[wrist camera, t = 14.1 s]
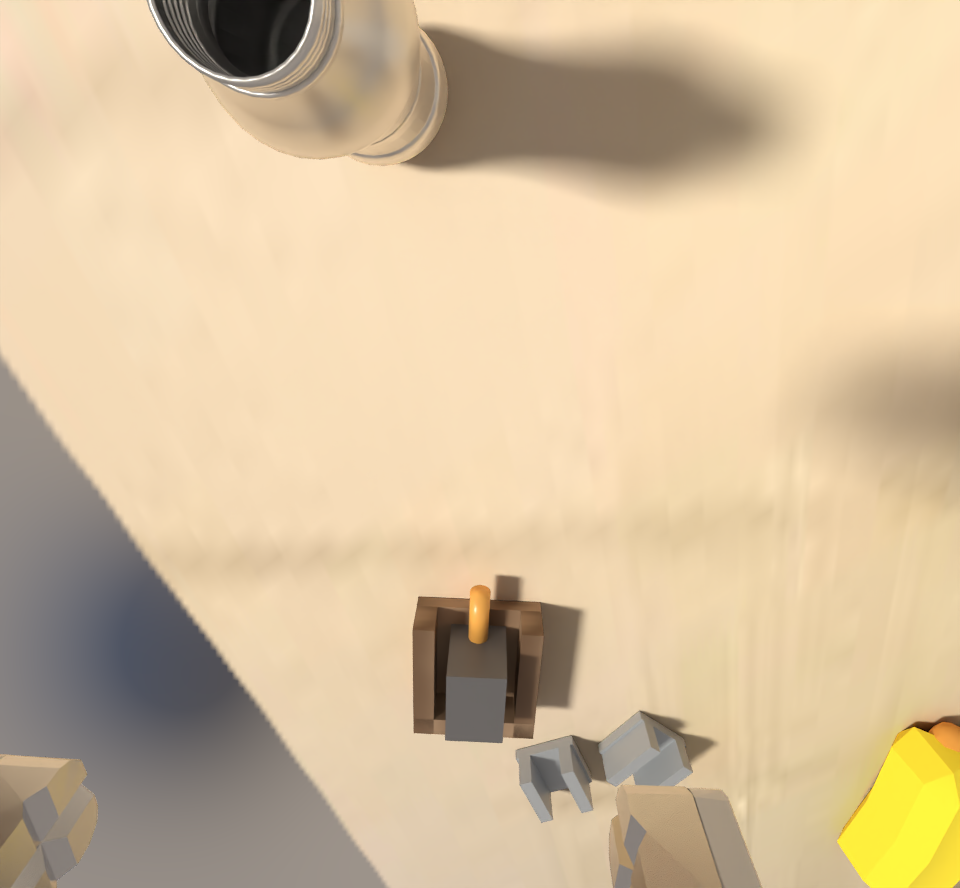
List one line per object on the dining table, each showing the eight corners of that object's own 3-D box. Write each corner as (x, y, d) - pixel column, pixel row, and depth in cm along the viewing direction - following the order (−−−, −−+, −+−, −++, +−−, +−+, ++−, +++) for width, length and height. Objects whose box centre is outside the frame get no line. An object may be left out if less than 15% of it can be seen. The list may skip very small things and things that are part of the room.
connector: (509, 582, 42) (510, 631, 37) (501, 686, 46) (502, 743, 42) (452, 579, 42) (447, 628, 37) (450, 684, 46) (445, 740, 42)
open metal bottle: (313, 23, 29) (16, -220, 11) (450, 19, 29) (375, -234, 11) (329, 167, 32) (111, 161, 14) (454, 165, 32) (401, 155, 14)
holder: (540, 602, 44) (543, 636, 41) (530, 701, 48) (532, 738, 45) (418, 596, 44) (412, 630, 41) (419, 695, 48) (413, 733, 45)
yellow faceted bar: (987, 713, 48) (894, 704, 48) (1059, 792, 42) (953, 782, 41) (897, 852, 55) (816, 844, 55) (947, 936, 49) (856, 927, 49)
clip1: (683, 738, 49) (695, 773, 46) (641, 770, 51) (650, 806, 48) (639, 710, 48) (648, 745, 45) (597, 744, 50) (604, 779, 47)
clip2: (571, 735, 50) (576, 770, 47) (590, 773, 51) (596, 809, 48) (515, 750, 50) (516, 785, 48) (536, 787, 52) (538, 823, 49)
